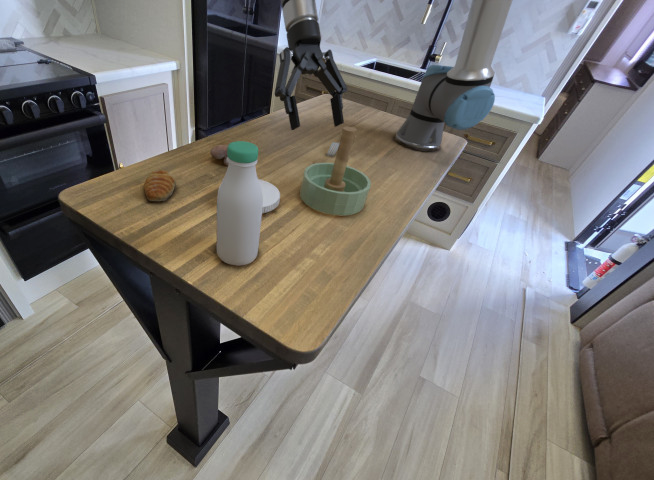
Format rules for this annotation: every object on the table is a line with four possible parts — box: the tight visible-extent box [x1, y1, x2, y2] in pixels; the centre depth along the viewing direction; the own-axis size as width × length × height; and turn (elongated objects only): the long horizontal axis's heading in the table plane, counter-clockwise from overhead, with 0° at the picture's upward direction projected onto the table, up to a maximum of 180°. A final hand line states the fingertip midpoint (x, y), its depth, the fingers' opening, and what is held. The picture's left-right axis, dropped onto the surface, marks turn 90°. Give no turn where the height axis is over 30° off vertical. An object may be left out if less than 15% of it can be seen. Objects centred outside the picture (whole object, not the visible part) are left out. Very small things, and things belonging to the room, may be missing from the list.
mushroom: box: [210, 144, 229, 166], centre depth 89 cm, size 8×6×8 cm
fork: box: [326, 141, 340, 157], centre depth 108 cm, size 3×21×3 cm, turn 154°
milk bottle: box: [216, 140, 263, 266], centre depth 55 cm, size 8×8×20 cm
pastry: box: [143, 169, 177, 202], centre depth 74 cm, size 9×7×4 cm
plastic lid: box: [217, 178, 281, 214], centre depth 76 cm, size 14×14×2 cm
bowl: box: [299, 162, 372, 217], centre depth 79 cm, size 16×16×6 cm
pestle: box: [324, 126, 357, 192], centre depth 75 cm, size 5×5×16 cm
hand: (318, 126), depth 80 cm, fingers open, 13 cm apart
